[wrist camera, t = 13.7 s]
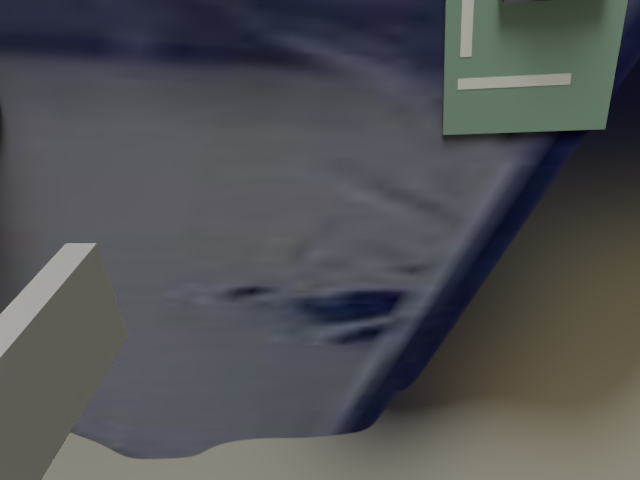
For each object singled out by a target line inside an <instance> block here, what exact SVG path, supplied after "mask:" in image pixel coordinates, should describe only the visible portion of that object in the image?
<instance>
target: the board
mask: <svg viewBox="0 0 640 480" xmlns="http://www.w3.org/2000/svg"><path fill="white" fill-rule="evenodd" d="M627 2H628V0H445V29H444V76H443V122H442V132H443V135H457V134H485V133H513V132H541V131H569V130H597V129H605V127H606V121H607V115H608V110H609V105H610V99H611V93H612V88H613V82H614V76H615V71H616V65H617V59H618V54H619V48H620V42H621V36H622V31H623V25H624V19H625V14H626V8H627Z"/></svg>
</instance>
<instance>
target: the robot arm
mask: <svg viewBox="0 0 640 480" xmlns="http://www.w3.org/2000/svg"><path fill="white" fill-rule="evenodd" d="M128 336H129V335H128V332H127V330H126V327H125V324H124V321H123V318H122V315H121V312H120V309H119V306H118V303H117V301H116V298H115V295H114V292H113V289H112V286H111V283H110V280H109V277H108V274H107V271H106V269H105V266H104V263H103V260H102V257H101V254H100V251H99V248H98V245H97V243H66V244H65V245H64V246H63V247H62V248H61V249H60V250H59V251H58V253H57V254H56V255H55V256H54V257H53V258H52V259H51V260H50V261H49V262H48V263H47V264H46V265H45V267H44V268H43V269H42V270H41V271H40V272H39V273H38V274H37V275H36V276H35V277H34V278H33V279H32V281H31V282H30V283H29V284H28V285H27V286H26V287H25V288H24V289H23V290H22V291H21V292H20V294H19V295H18V296H17V297H16V298H15V299H14V300H13V301H12V302H11V303H10V304H9V305H8V306H7V308H6V309H5V310H4V311H3V312H2V313H1V314H0V480H41V479H42V477H43V476H44V474H45V472H46V471H47V469H48V468H49V466H50V464H51V463H52V461H53V459H54V458H55V456H56V454H57V453H58V451H59V449H60V448H61V446H62V444H63V443H64V441H65V439H66V438H67V436H68V435H69V433H70V431H71V430H72V428H73V426H74V425H75V423H76V421H77V420H78V418H79V416H80V415H81V413H82V411H83V410H84V408H85V407H86V405H87V403H88V402H89V400H90V398H91V397H92V395H93V393H94V392H95V390H96V388H97V387H98V385H99V383H100V382H101V380H102V378H103V377H104V375H105V374H106V372H107V370H108V369H109V367H110V365H111V364H112V362H113V360H114V359H115V357H116V355H117V354H118V352H119V350H120V349H121V347H122V345H123V344H124V342H125V341H126V339H127V337H128Z"/></svg>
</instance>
